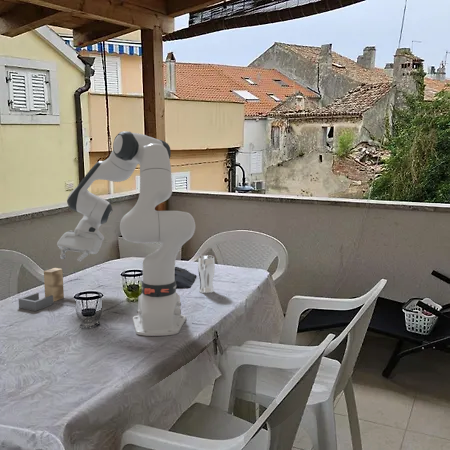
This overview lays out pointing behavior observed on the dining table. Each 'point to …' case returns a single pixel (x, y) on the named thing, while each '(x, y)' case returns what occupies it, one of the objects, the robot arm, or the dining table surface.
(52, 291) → the tan rectangular block
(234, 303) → the dining table surface
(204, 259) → the beer glass
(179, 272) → the dark slate chunk
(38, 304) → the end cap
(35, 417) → the dining table surface
